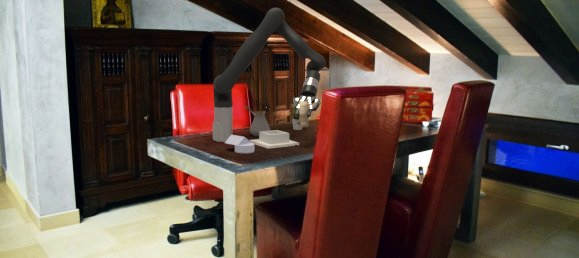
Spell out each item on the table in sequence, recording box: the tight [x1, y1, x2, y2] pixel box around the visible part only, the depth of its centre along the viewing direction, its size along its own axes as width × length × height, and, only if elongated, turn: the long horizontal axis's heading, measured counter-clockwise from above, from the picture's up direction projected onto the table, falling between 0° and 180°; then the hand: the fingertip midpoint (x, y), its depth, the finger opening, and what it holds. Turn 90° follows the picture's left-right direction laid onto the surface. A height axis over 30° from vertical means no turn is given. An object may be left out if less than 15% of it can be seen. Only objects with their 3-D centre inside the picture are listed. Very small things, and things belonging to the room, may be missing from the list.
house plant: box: [287, 103, 303, 131], centre depth 290 cm, size 14×14×16 cm
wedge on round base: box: [224, 134, 255, 154], centre depth 228 cm, size 9×7×13 cm
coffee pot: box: [244, 105, 271, 137], centre depth 273 cm, size 21×12×15 cm, turn 37°
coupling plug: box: [298, 101, 311, 128], centre depth 237 cm, size 6×5×12 cm
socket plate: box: [248, 129, 300, 150], centre depth 246 cm, size 18×18×6 cm
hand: (302, 116), depth 235 cm, fingers closed on coupling plug, 4 cm apart
